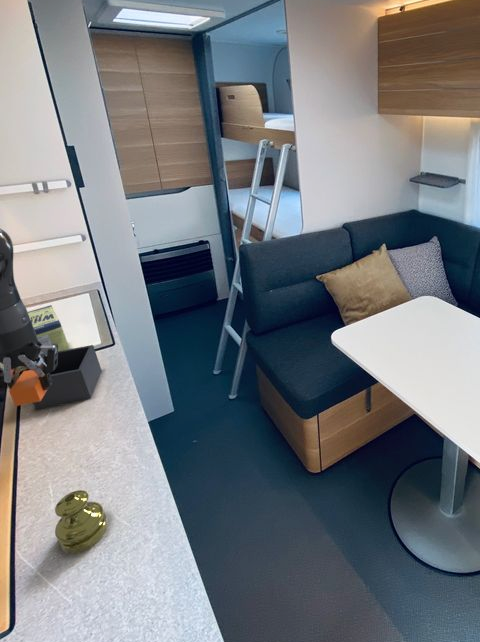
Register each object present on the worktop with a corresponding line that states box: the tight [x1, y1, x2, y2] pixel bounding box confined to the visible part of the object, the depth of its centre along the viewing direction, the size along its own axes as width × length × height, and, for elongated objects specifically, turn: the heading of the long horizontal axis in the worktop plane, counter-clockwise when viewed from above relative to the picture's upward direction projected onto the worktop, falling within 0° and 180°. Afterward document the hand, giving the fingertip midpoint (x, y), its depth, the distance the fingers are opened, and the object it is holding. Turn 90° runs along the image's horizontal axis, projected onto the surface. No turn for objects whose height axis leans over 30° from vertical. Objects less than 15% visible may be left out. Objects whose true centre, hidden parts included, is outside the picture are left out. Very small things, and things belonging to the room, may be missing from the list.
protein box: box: [27, 304, 71, 356], centre depth 125 cm, size 10×16×16 cm
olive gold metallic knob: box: [54, 489, 109, 555], centre depth 75 cm, size 7×7×10 cm
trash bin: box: [32, 344, 103, 411], centre depth 113 cm, size 13×13×10 cm
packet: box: [8, 369, 47, 407], centre depth 90 cm, size 7×4×4 cm, turn 19°
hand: (33, 390), depth 90 cm, fingers closed on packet, 4 cm apart
